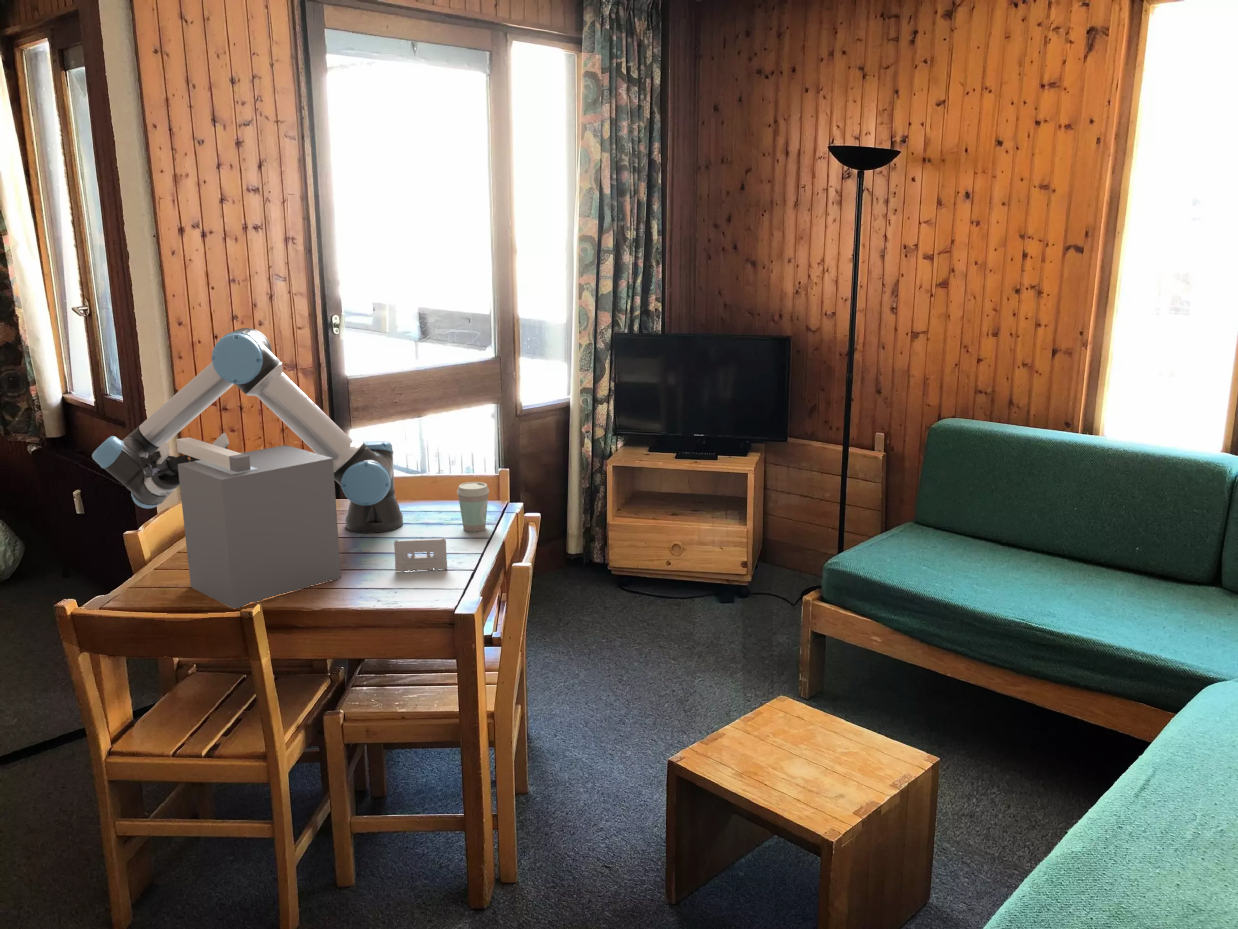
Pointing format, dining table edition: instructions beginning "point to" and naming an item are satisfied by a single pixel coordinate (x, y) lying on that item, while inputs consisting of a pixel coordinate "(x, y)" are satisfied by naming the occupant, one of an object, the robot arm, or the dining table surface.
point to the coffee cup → (473, 505)
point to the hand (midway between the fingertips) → (197, 443)
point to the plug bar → (213, 454)
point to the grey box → (260, 525)
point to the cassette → (420, 562)
